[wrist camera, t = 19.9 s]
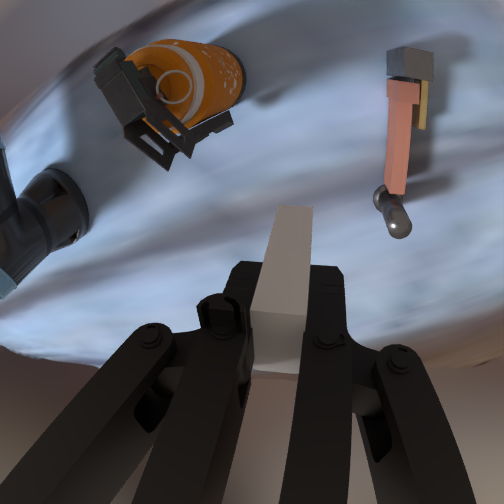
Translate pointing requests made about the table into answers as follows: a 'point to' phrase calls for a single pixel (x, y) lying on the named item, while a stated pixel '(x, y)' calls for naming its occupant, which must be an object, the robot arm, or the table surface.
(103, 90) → the canister
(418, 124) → the grey hammer
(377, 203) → the post
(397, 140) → the pink l-shaped bracket
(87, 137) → the table surface
